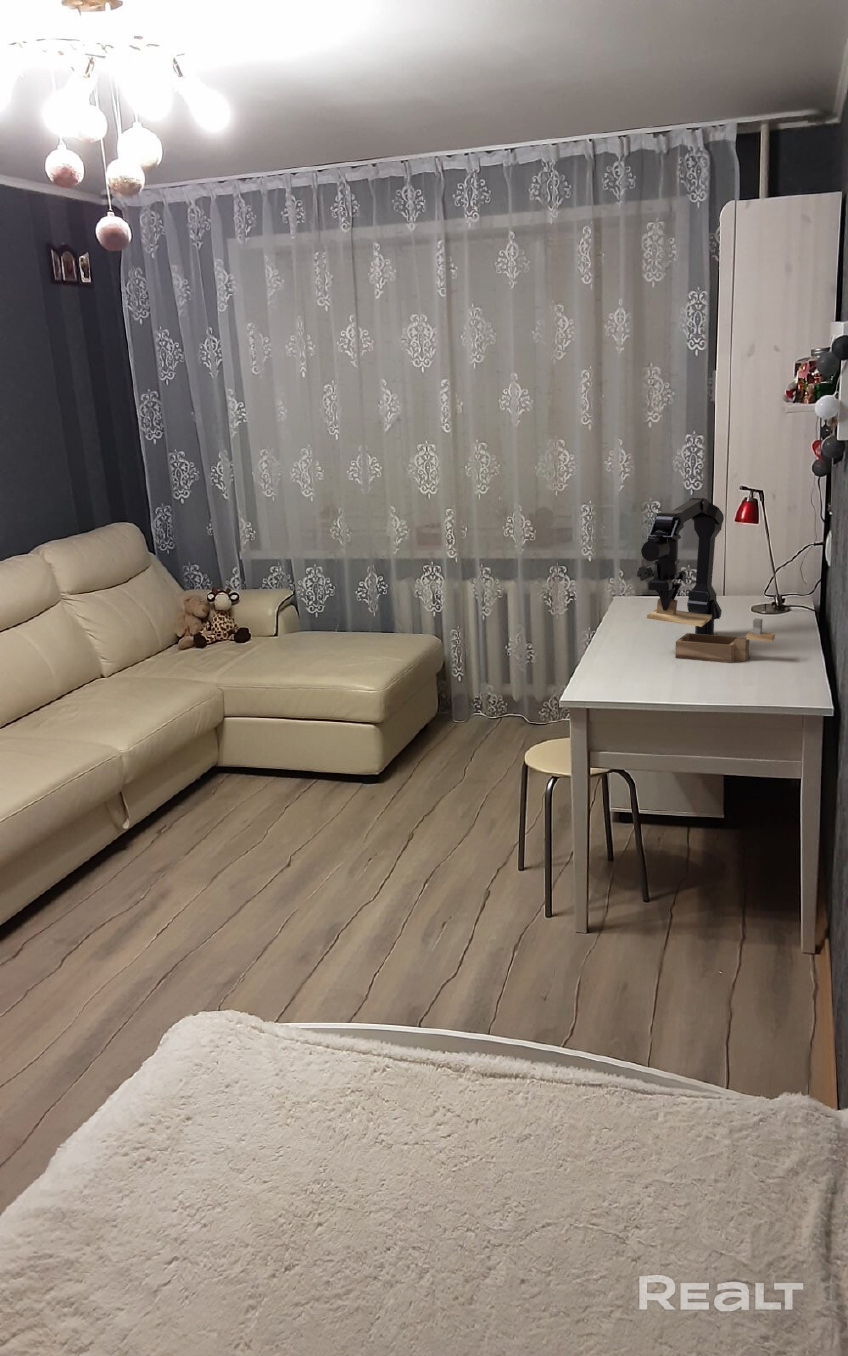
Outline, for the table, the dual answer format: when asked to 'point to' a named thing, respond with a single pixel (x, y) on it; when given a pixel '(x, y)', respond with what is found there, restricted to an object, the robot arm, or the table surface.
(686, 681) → the table surface
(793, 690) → the table surface
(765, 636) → the block
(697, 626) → the robot arm
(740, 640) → the toolbox
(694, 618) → the lid
